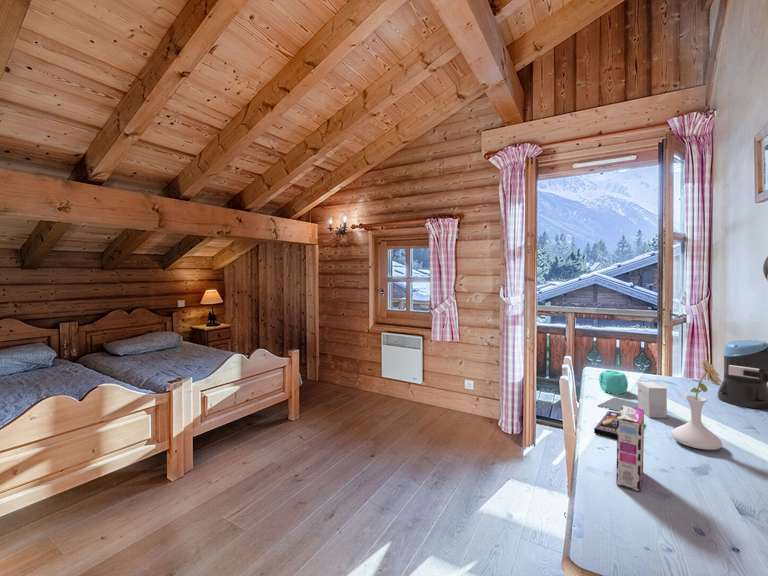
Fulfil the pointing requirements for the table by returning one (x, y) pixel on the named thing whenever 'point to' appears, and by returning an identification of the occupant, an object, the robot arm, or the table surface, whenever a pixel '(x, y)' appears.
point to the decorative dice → (613, 382)
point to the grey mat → (618, 404)
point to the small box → (652, 399)
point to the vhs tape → (608, 425)
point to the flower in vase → (698, 417)
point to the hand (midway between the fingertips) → (729, 369)
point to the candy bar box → (630, 447)
